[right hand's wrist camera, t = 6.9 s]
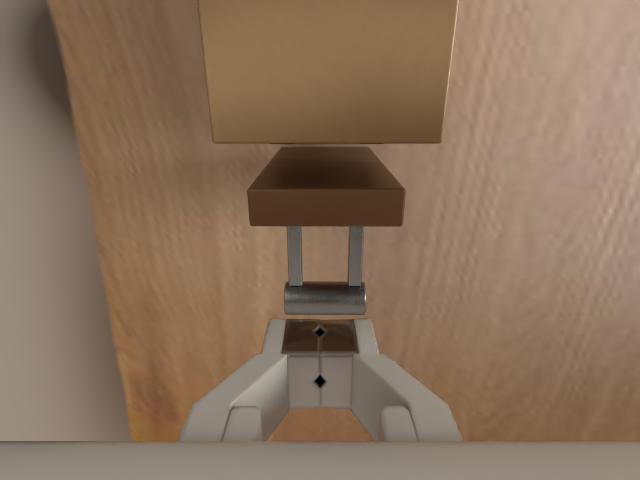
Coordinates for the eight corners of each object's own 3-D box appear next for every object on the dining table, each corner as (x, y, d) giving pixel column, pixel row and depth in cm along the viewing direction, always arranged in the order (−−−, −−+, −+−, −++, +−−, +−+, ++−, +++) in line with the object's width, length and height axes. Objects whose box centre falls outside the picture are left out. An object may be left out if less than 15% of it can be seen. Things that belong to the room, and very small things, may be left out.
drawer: (363, 266, 22) (389, 377, 13) (285, 266, 22) (261, 377, 13) (392, -332, 13) (531, -1183, 4) (261, -331, 13) (138, -1174, 4)
